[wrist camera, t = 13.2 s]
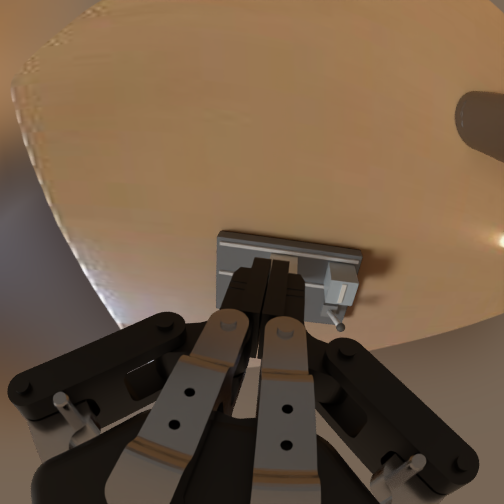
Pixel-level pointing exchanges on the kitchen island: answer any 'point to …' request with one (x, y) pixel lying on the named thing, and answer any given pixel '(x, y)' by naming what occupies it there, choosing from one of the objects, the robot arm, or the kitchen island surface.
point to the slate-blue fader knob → (340, 283)
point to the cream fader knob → (292, 260)
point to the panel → (309, 266)
